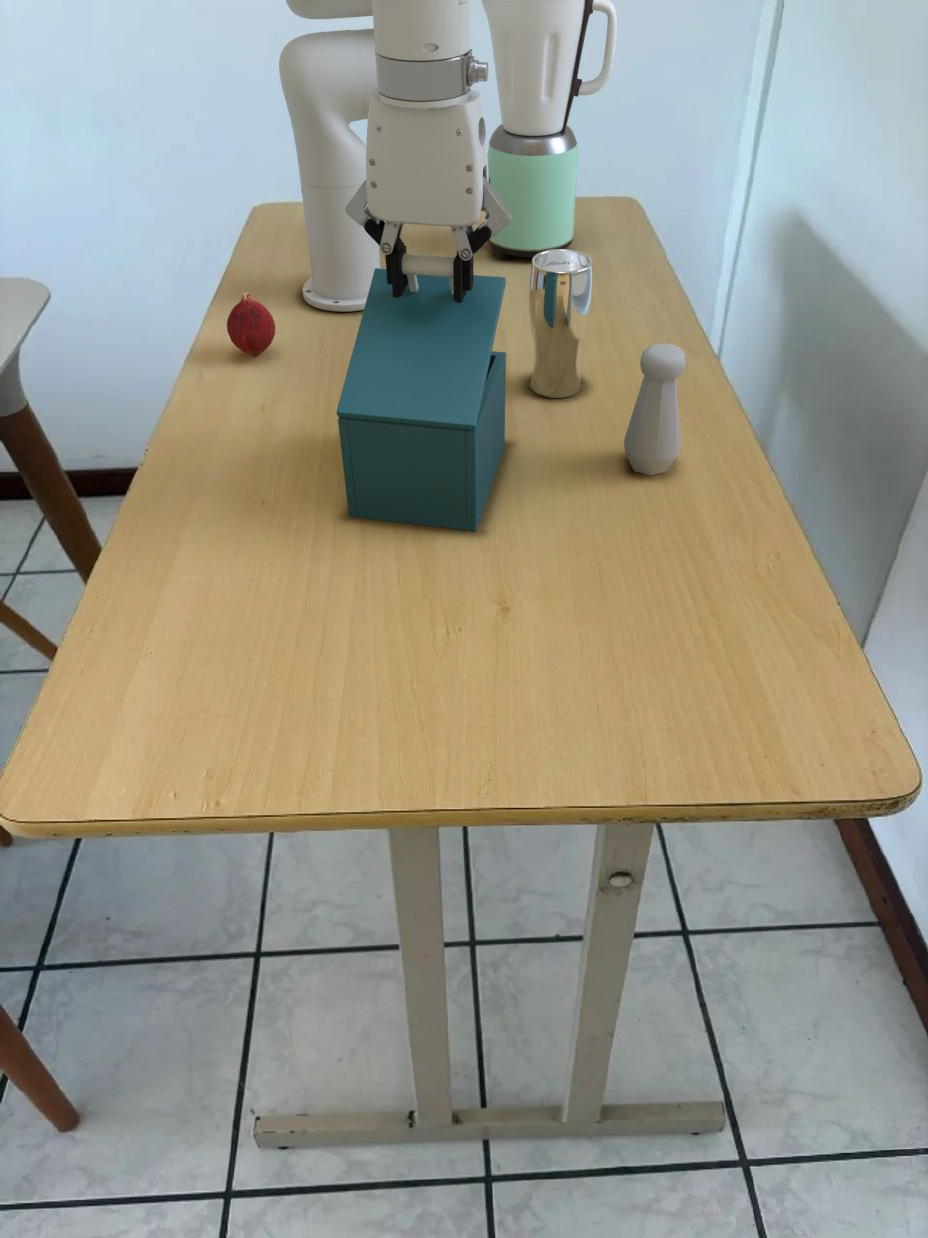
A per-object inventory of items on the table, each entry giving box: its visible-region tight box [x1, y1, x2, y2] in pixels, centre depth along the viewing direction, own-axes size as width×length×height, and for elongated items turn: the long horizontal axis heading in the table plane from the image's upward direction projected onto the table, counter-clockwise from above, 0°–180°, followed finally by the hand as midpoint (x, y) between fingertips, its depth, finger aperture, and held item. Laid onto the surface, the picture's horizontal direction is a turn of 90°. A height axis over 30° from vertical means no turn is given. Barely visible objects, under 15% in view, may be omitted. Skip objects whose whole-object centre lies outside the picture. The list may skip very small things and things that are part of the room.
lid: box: [336, 252, 507, 430], centre depth 87 cm, size 17×13×5 cm
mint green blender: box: [480, 0, 619, 260], centre depth 134 cm, size 19×13×35 cm
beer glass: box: [528, 248, 594, 399], centre depth 108 cm, size 7×7×15 cm
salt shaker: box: [623, 342, 687, 476], centre depth 96 cm, size 6×6×13 cm
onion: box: [226, 291, 276, 357], centre depth 118 cm, size 6×6×8 cm
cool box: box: [337, 350, 507, 532], centre depth 95 cm, size 16×13×11 cm
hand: (430, 292), depth 89 cm, fingers open, 5 cm apart
